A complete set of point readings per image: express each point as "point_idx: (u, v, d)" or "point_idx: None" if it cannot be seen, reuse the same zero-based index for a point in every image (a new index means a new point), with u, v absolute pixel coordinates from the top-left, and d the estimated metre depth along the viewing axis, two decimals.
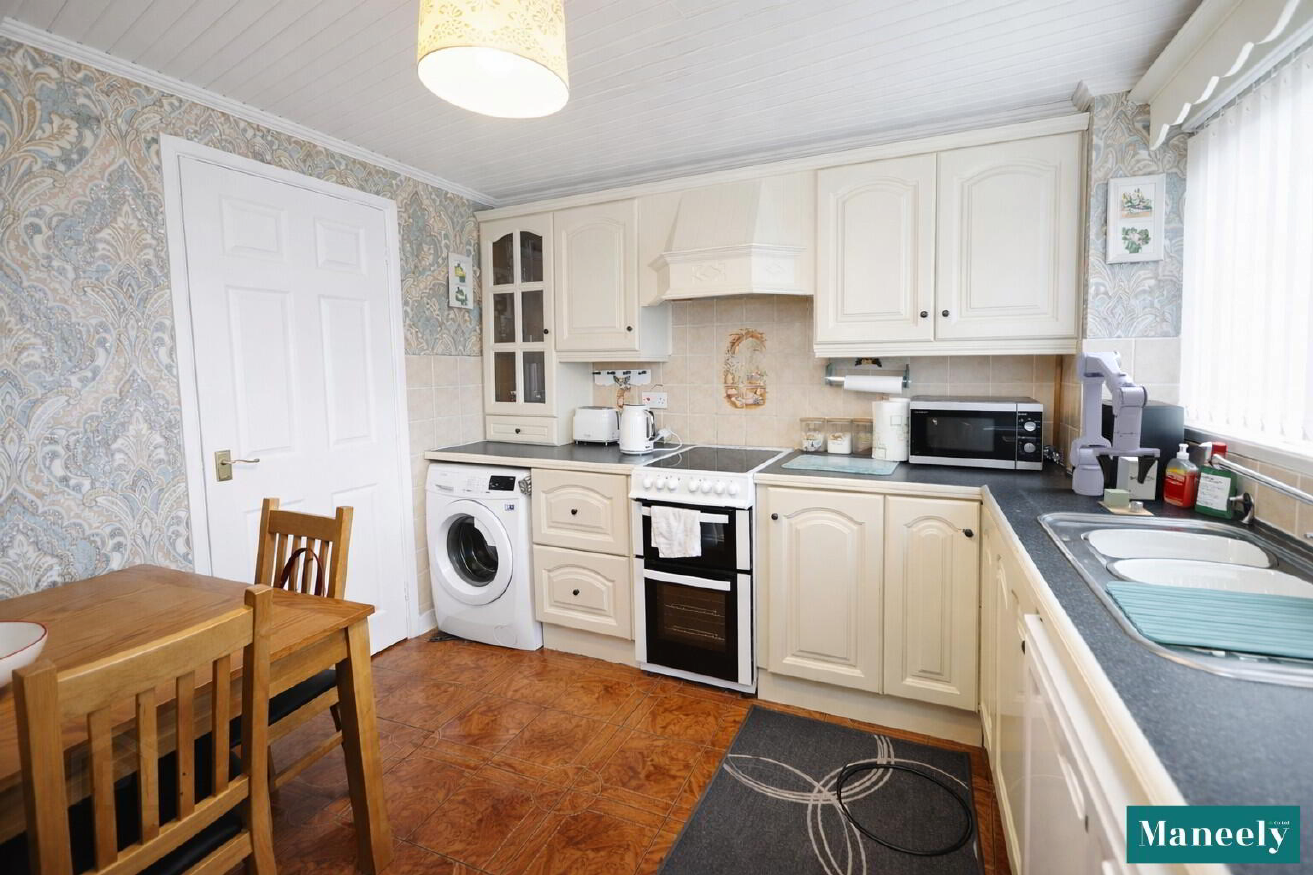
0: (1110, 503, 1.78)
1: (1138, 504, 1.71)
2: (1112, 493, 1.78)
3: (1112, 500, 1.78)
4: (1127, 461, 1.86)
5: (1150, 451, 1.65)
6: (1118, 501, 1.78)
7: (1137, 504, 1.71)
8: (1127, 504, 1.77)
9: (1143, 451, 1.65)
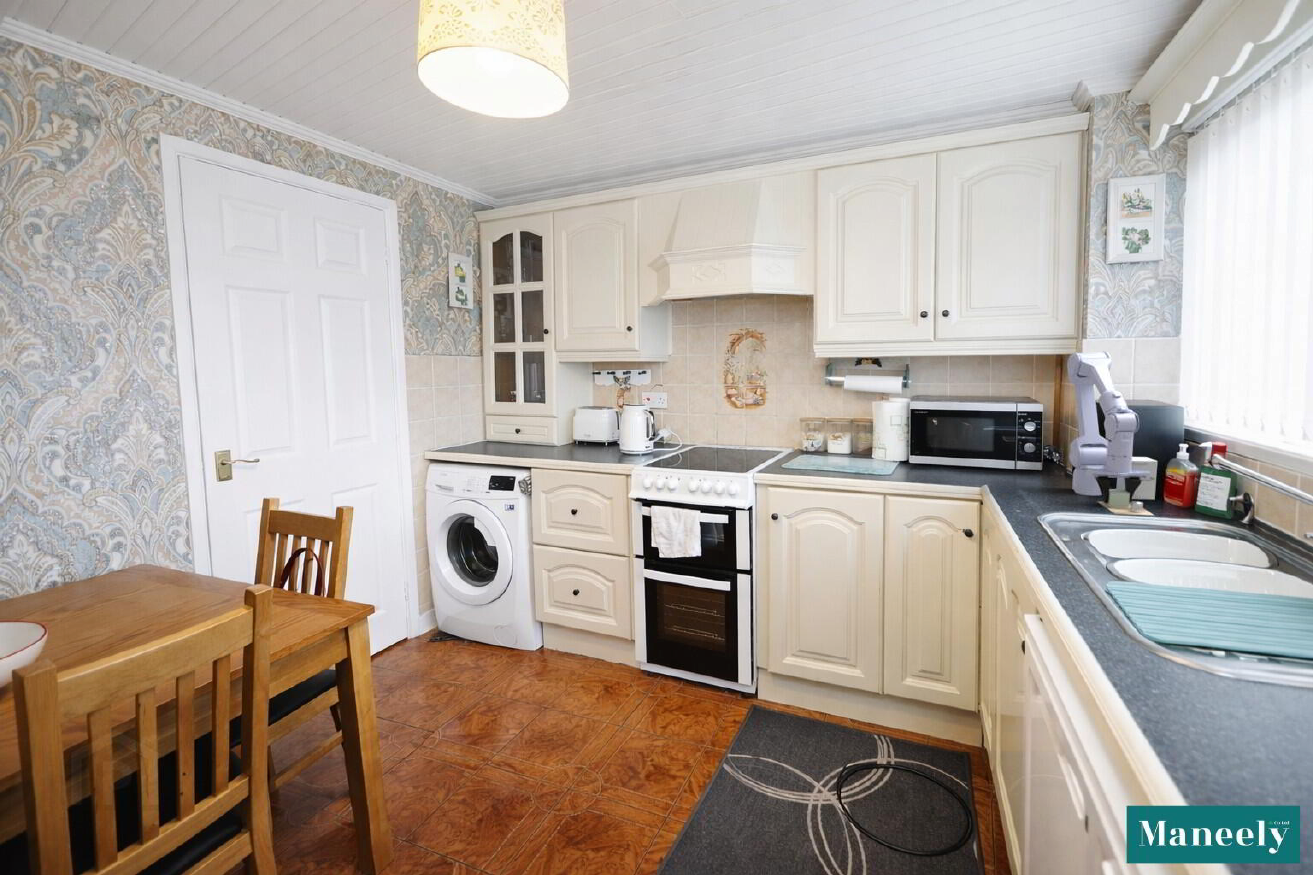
0: (1110, 503, 1.78)
1: (1138, 504, 1.71)
2: (1112, 493, 1.78)
3: (1112, 500, 1.78)
4: None
5: (1141, 473, 1.76)
6: (1118, 501, 1.78)
7: (1137, 504, 1.71)
8: (1127, 504, 1.77)
9: (1134, 473, 1.76)
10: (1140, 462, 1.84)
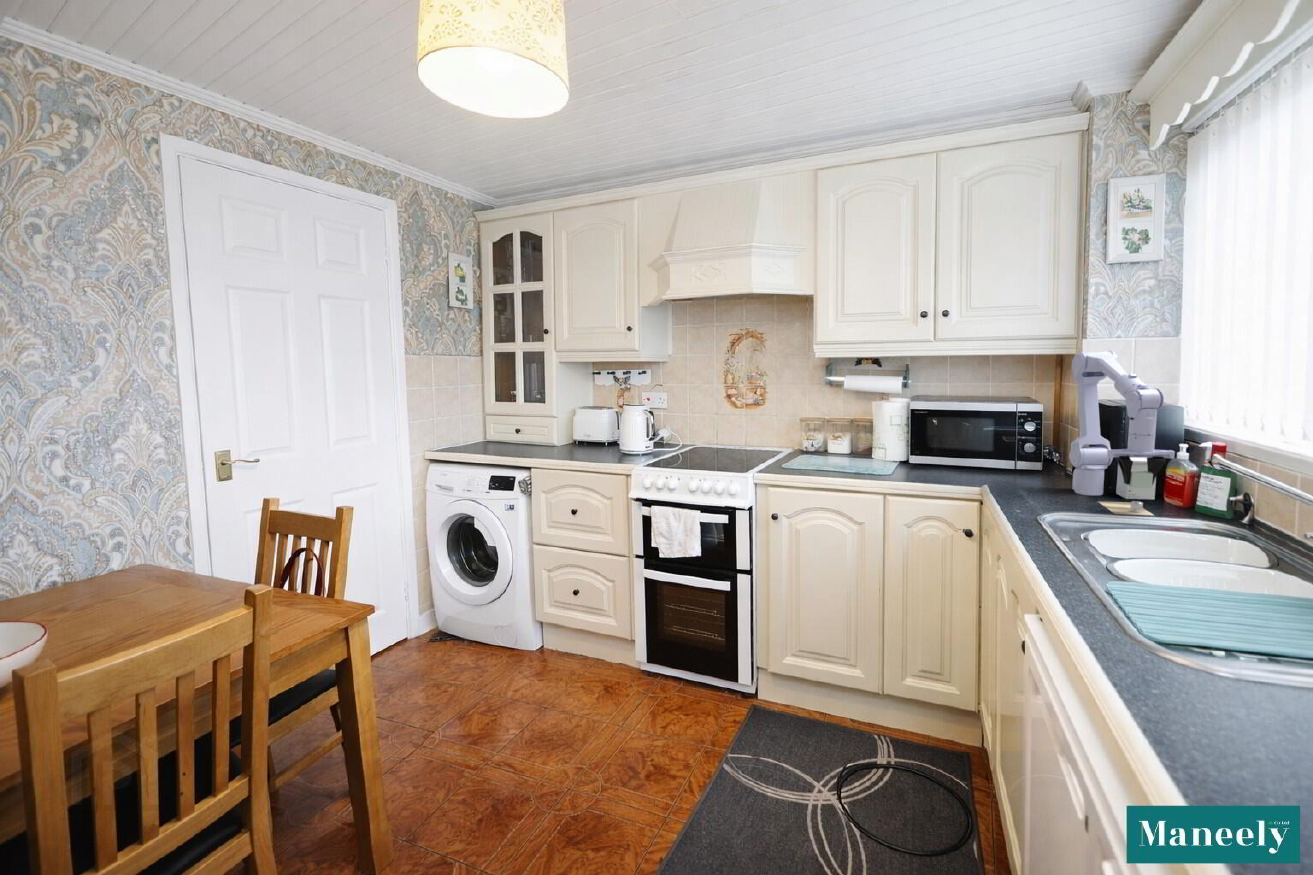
0: (1132, 484, 1.70)
1: (1138, 504, 1.71)
2: (1134, 474, 1.69)
3: (1134, 481, 1.70)
4: None
5: (1165, 453, 1.67)
6: (1141, 482, 1.69)
7: (1137, 504, 1.71)
8: (1150, 485, 1.69)
9: (1158, 453, 1.67)
10: (1140, 462, 1.84)
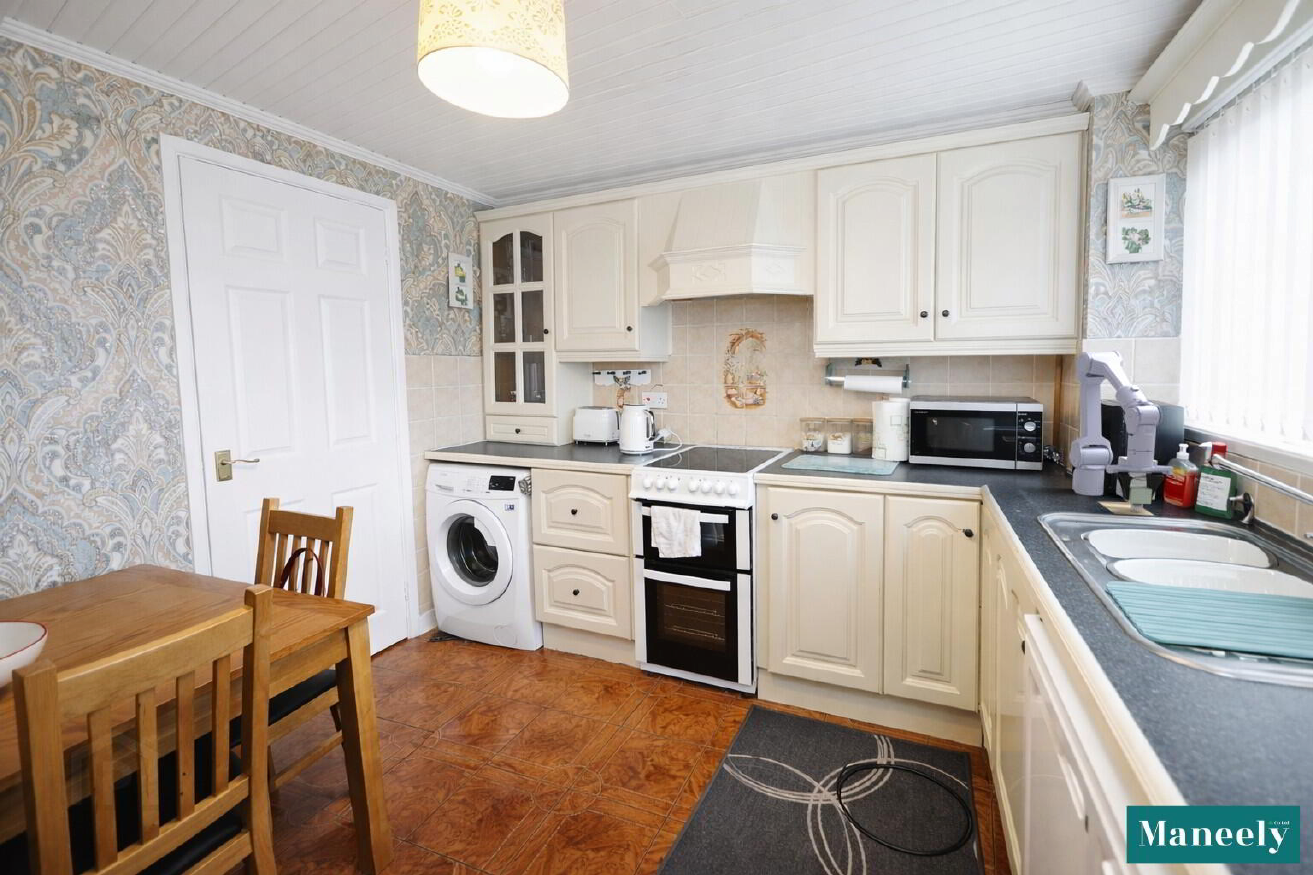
0: (1131, 500, 1.70)
1: (1138, 504, 1.71)
2: (1133, 489, 1.70)
3: (1133, 497, 1.70)
4: None
5: (1164, 469, 1.68)
6: (1139, 498, 1.70)
7: (1137, 504, 1.71)
8: (1149, 501, 1.69)
9: (1157, 469, 1.68)
10: None
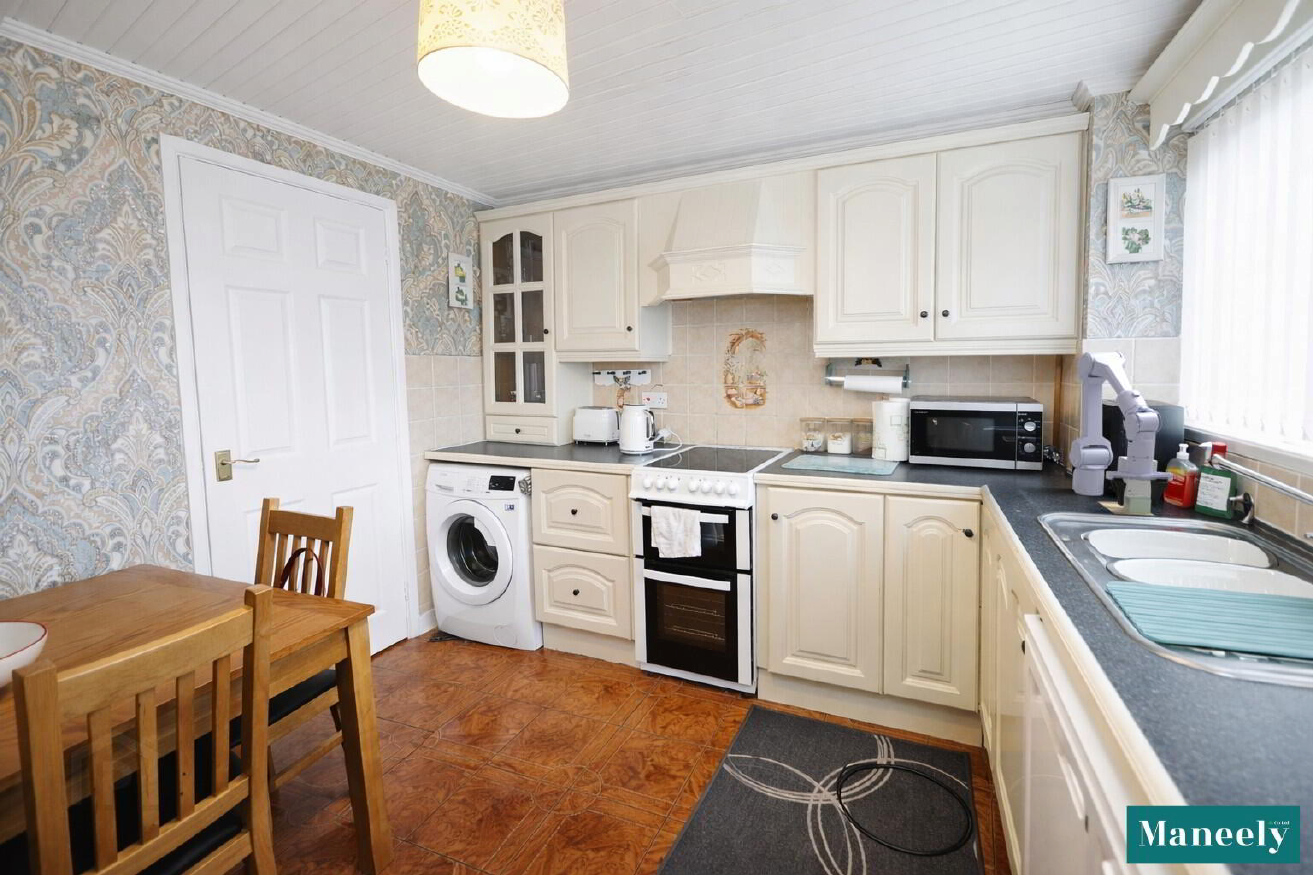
0: (1131, 510, 1.71)
1: None
2: (1132, 499, 1.70)
3: (1132, 507, 1.71)
4: None
5: (1163, 475, 1.68)
6: (1139, 508, 1.70)
7: None
8: (1148, 511, 1.70)
9: (1156, 475, 1.68)
10: None
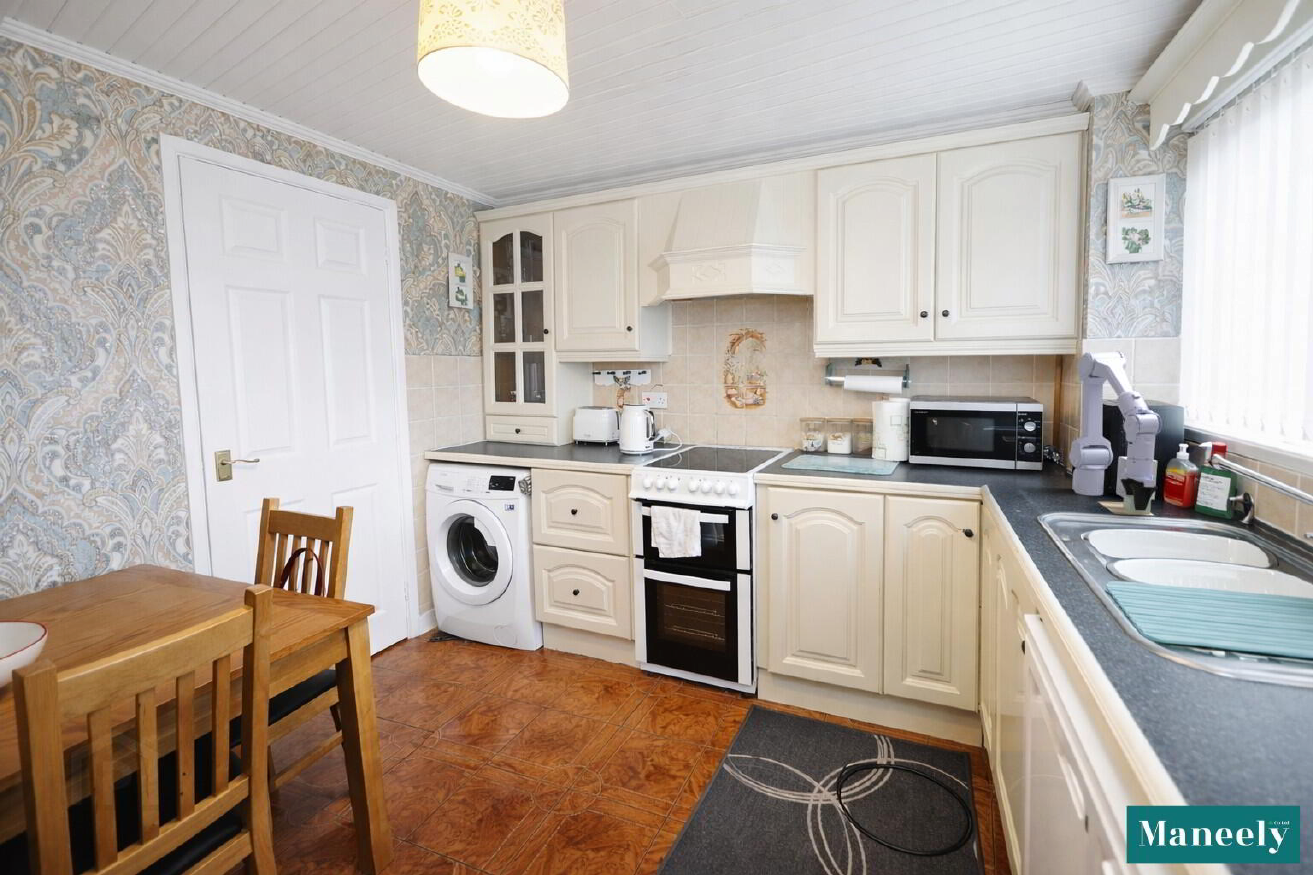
0: (1131, 510, 1.71)
1: None
2: (1132, 499, 1.70)
3: (1132, 507, 1.71)
4: None
5: (1140, 479, 1.67)
6: None
7: None
8: (1148, 511, 1.70)
9: (1134, 477, 1.69)
10: None
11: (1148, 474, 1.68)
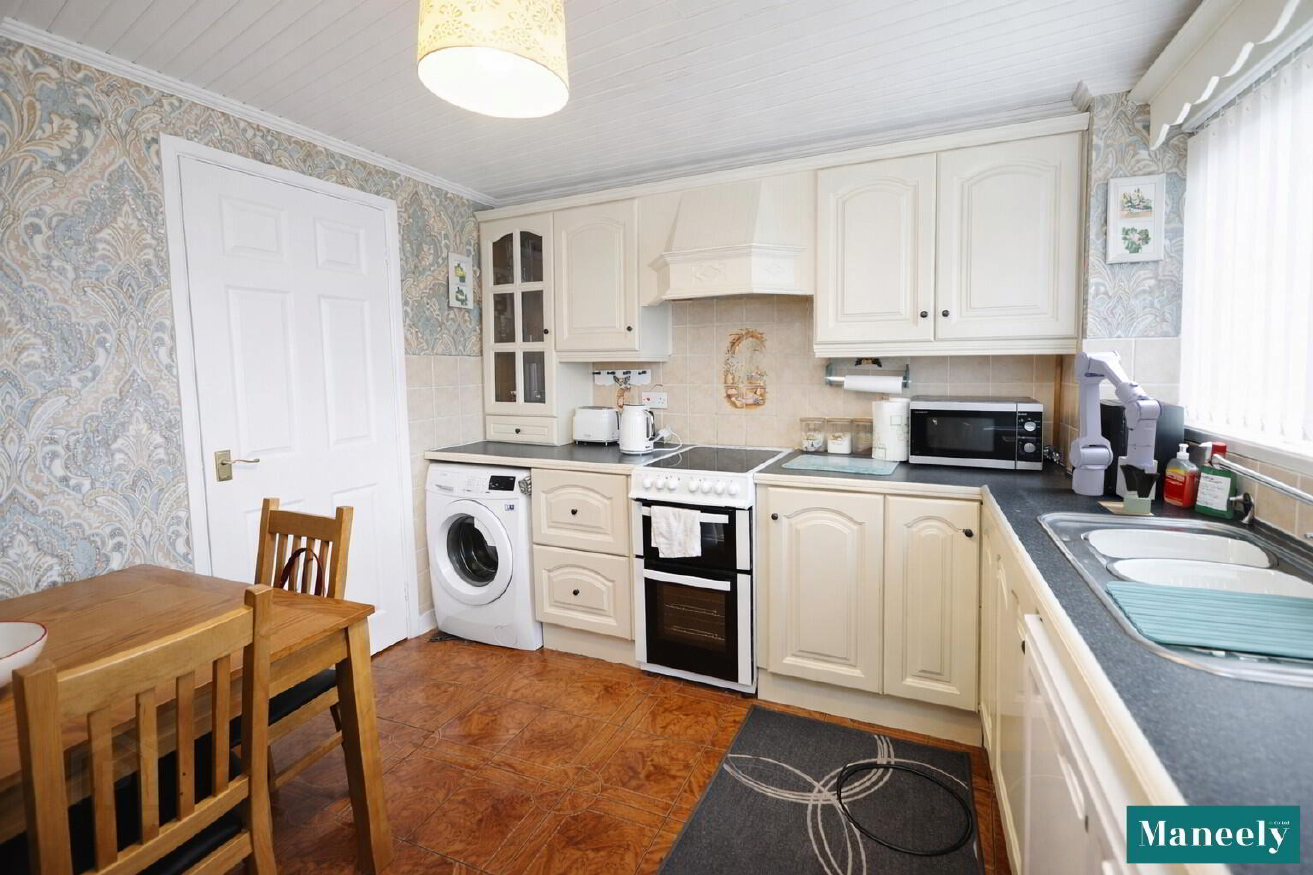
0: (1131, 510, 1.71)
1: None
2: (1132, 499, 1.70)
3: (1132, 507, 1.71)
4: None
5: (1140, 465, 1.66)
6: (1139, 508, 1.70)
7: None
8: (1148, 511, 1.70)
9: (1135, 464, 1.68)
10: None
11: (1149, 461, 1.68)
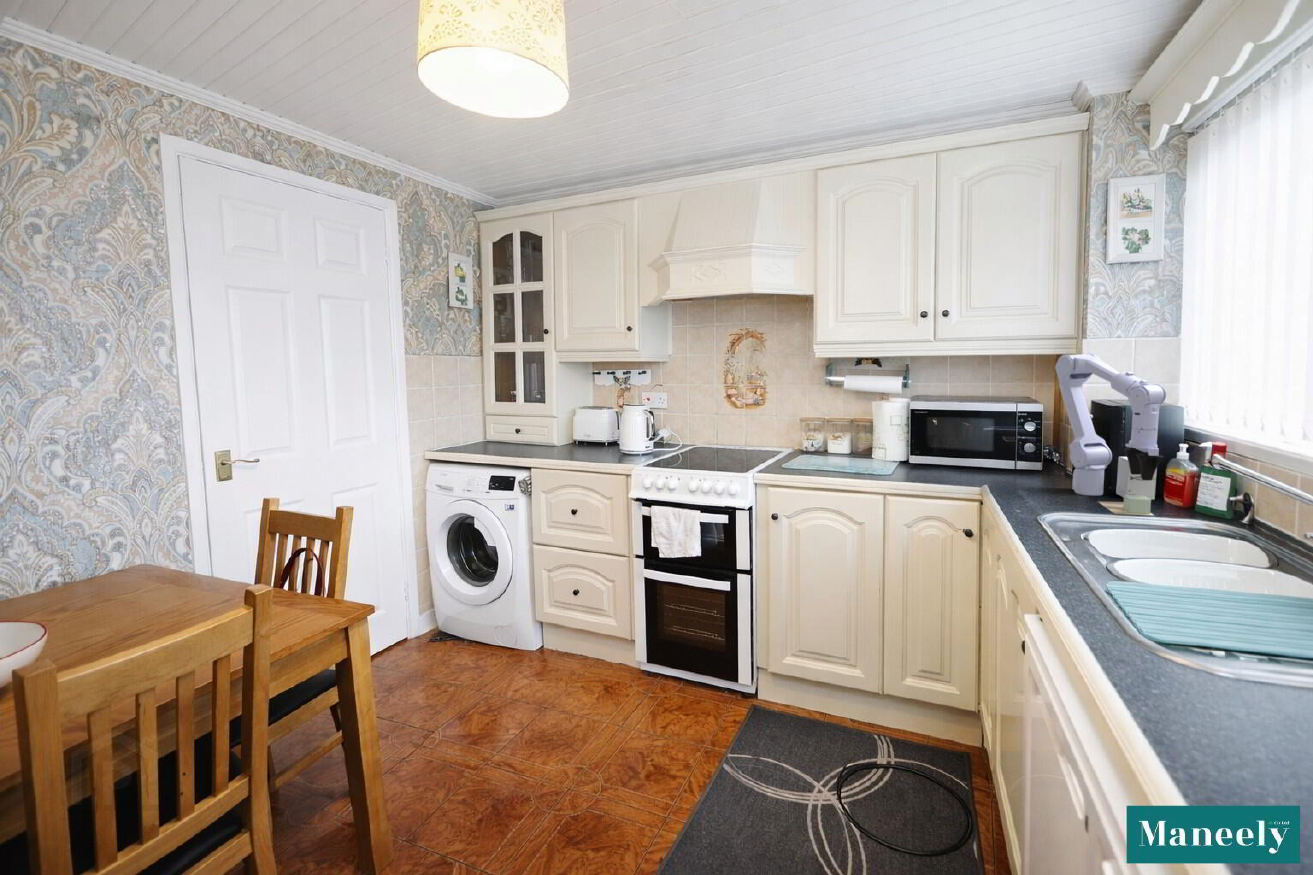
0: (1131, 510, 1.71)
1: None
2: (1132, 499, 1.70)
3: (1132, 507, 1.71)
4: (1127, 461, 1.86)
5: (1144, 448, 1.72)
6: (1139, 508, 1.70)
7: None
8: (1148, 511, 1.70)
9: (1139, 447, 1.73)
10: None
11: (1152, 444, 1.73)
